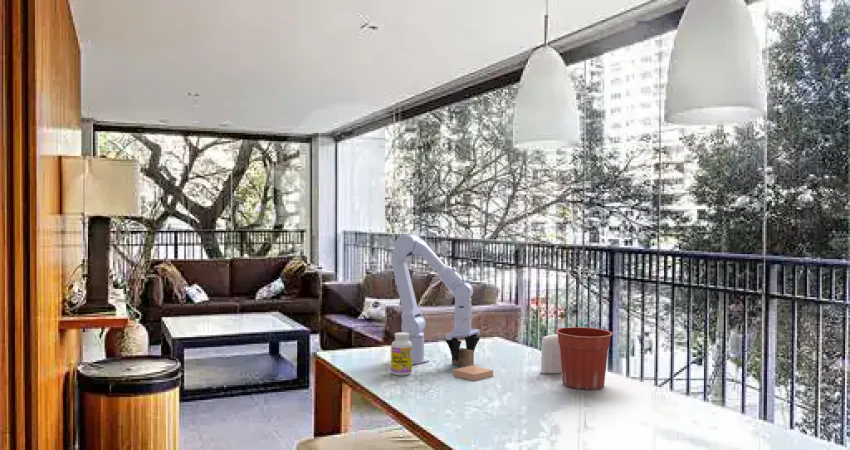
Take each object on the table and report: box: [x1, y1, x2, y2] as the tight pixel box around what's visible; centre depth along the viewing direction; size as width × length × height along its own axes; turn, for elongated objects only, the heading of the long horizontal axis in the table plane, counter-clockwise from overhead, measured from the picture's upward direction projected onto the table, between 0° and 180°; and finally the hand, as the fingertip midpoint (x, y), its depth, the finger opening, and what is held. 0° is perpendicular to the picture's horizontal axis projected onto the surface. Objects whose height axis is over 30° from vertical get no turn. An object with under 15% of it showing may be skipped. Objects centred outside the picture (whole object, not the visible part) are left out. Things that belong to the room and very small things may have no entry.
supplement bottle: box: [390, 331, 413, 377], centre depth 209 cm, size 7×7×13 cm
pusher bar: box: [451, 347, 475, 367], centre depth 221 cm, size 8×2×6 cm, turn 42°
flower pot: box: [555, 326, 613, 391], centre depth 196 cm, size 16×16×16 cm
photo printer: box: [540, 333, 562, 374], centre depth 212 cm, size 10×4×12 cm, turn 98°
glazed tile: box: [452, 365, 494, 382], centre depth 207 cm, size 2×9×9 cm
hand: (462, 358), depth 221 cm, fingers open, 6 cm apart
